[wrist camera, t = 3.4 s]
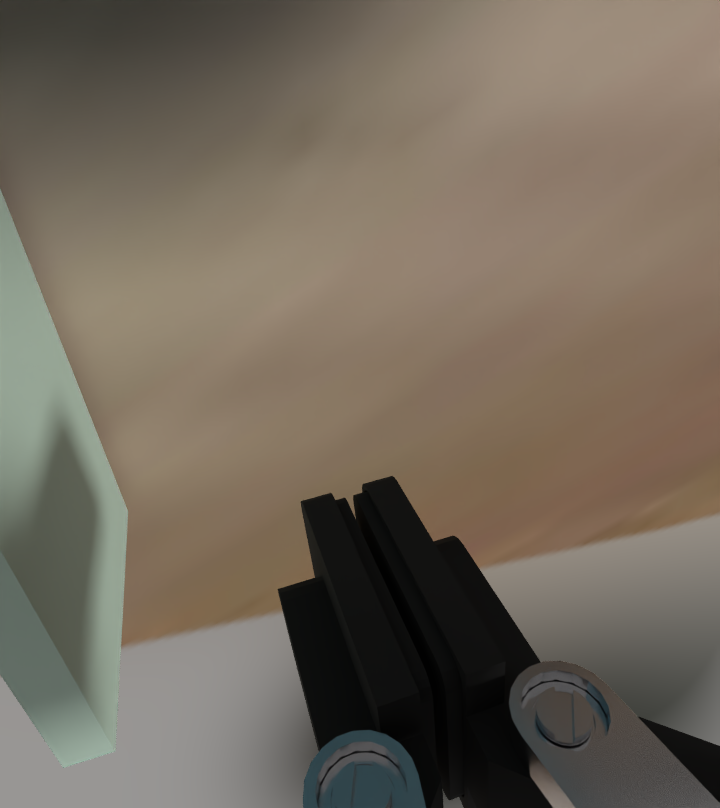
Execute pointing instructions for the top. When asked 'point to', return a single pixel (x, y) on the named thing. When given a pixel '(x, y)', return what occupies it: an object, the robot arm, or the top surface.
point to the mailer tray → (55, 530)
